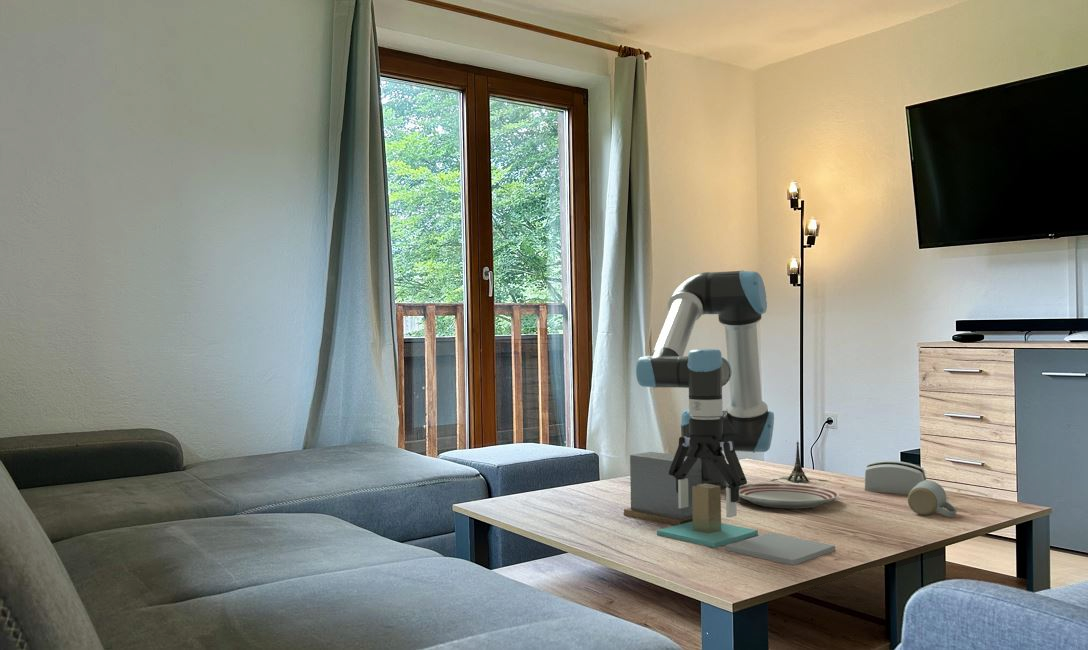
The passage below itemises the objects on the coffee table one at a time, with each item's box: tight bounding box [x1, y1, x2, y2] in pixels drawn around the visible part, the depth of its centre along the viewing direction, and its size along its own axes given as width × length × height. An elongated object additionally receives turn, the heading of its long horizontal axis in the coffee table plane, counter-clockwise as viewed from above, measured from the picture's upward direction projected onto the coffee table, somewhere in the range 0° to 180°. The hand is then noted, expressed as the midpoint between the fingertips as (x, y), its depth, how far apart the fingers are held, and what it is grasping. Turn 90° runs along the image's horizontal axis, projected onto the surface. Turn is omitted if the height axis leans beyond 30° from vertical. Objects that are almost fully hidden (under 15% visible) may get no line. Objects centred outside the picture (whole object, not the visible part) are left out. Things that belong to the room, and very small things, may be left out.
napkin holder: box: [864, 460, 927, 495], centre depth 240 cm, size 17×5×10 cm, turn 56°
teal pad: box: [656, 521, 759, 548], centre depth 195 cm, size 16×16×1 cm
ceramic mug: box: [907, 479, 957, 518], centre depth 213 cm, size 11×8×8 cm
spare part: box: [692, 483, 722, 534], centre depth 195 cm, size 4×4×10 cm
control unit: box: [623, 451, 702, 526], centre depth 213 cm, size 18×11×15 cm, turn 42°
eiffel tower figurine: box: [769, 441, 829, 484], centre depth 260 cm, size 15×10×13 cm
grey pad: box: [725, 532, 836, 566], centre depth 180 cm, size 16×16×1 cm
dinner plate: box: [739, 482, 840, 509], centre depth 230 cm, size 27×27×3 cm
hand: (706, 512), depth 195 cm, fingers open, 13 cm apart
